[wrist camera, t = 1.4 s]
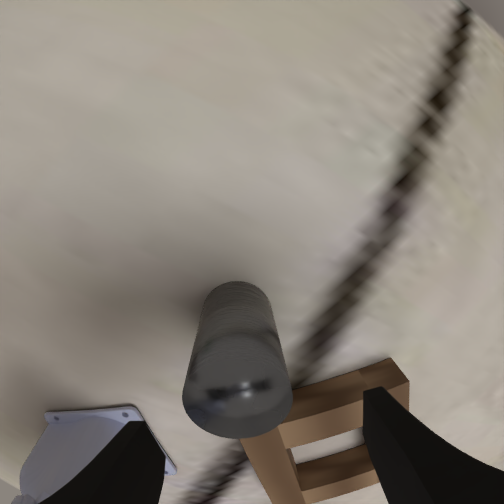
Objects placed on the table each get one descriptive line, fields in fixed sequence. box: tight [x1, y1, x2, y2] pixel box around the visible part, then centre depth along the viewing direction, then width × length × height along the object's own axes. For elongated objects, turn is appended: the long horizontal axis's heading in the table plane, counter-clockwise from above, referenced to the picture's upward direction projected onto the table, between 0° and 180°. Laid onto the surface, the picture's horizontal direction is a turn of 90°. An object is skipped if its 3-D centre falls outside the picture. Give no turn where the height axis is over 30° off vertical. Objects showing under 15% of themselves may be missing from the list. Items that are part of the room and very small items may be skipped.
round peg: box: [182, 281, 293, 439], centre depth 14 cm, size 4×4×8 cm
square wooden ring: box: [239, 358, 409, 504], centre depth 20 cm, size 11×11×3 cm
